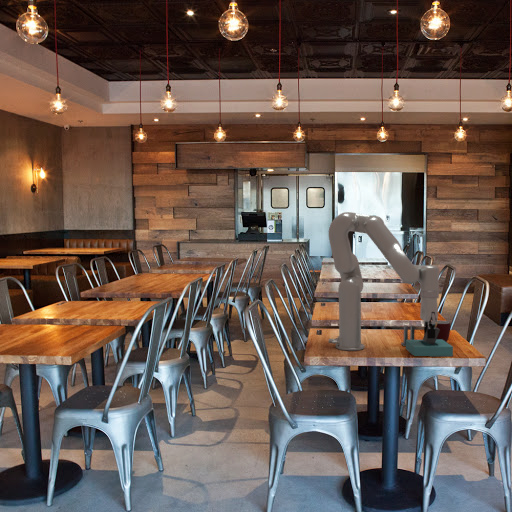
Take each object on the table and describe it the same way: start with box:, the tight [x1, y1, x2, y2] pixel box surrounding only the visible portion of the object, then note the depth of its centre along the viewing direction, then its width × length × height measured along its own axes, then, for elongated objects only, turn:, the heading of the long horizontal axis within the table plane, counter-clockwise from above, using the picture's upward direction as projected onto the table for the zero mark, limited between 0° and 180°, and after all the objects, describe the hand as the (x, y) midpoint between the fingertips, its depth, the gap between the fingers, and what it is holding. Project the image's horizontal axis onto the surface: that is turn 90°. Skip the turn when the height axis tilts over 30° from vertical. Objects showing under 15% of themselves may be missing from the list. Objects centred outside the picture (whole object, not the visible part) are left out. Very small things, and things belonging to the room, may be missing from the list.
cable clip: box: [400, 324, 415, 347], centre depth 260 cm, size 6×4×9 cm, turn 90°
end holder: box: [405, 339, 454, 357], centre depth 248 cm, size 16×14×4 cm
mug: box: [436, 320, 452, 343], centre depth 263 cm, size 10×8×10 cm
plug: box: [422, 322, 440, 345], centre depth 247 cm, size 4×4×9 cm
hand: (429, 336), depth 247 cm, fingers closed on plug, 4 cm apart
